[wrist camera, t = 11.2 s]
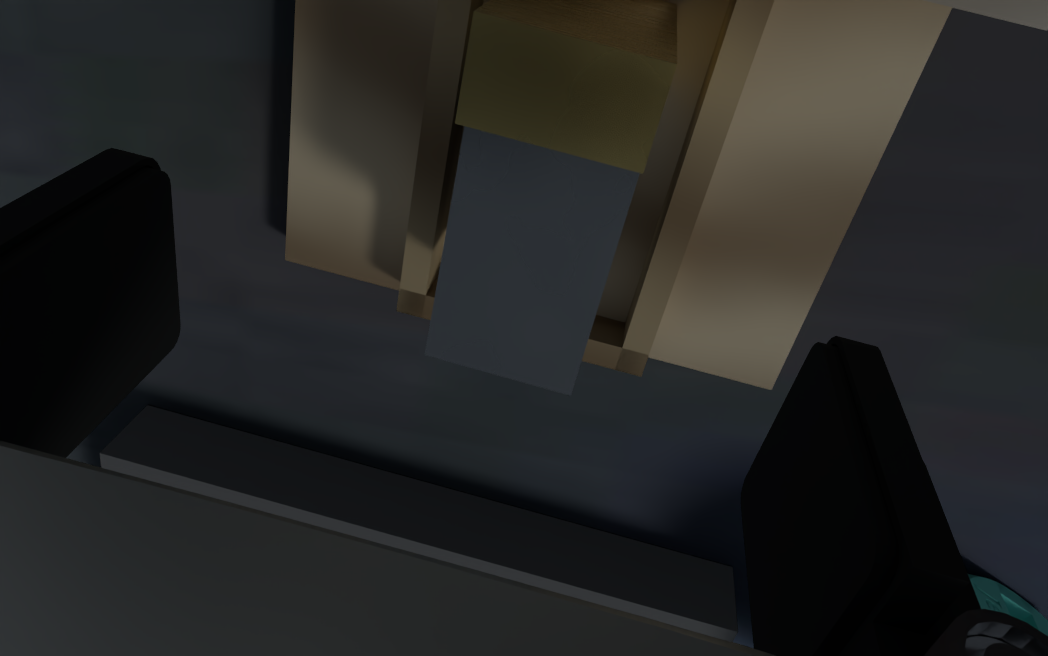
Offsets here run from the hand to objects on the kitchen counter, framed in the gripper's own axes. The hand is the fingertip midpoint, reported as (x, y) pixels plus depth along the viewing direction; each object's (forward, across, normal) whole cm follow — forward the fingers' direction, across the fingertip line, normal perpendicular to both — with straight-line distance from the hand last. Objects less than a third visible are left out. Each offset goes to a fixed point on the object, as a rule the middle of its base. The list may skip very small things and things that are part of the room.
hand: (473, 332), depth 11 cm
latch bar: (+12, 0, +2) cm, 12 cm away
